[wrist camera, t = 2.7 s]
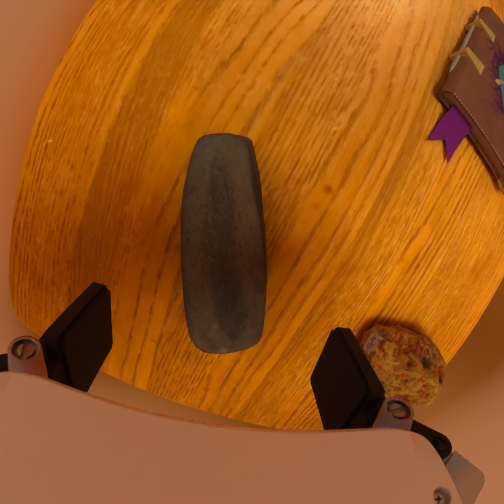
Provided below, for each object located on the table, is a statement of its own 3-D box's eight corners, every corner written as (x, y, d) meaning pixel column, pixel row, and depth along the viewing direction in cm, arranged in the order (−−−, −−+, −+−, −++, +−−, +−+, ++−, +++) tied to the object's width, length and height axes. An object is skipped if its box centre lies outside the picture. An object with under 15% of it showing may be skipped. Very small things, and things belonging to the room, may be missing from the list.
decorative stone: (261, 336, 25) (265, 366, 21) (191, 336, 25) (185, 365, 21) (266, 136, 19) (273, 131, 15) (179, 138, 19) (166, 133, 15)
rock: (357, 362, 32) (326, 397, 24) (375, 302, 31) (350, 324, 23) (433, 387, 25) (423, 434, 18) (458, 326, 24) (463, 360, 16)
